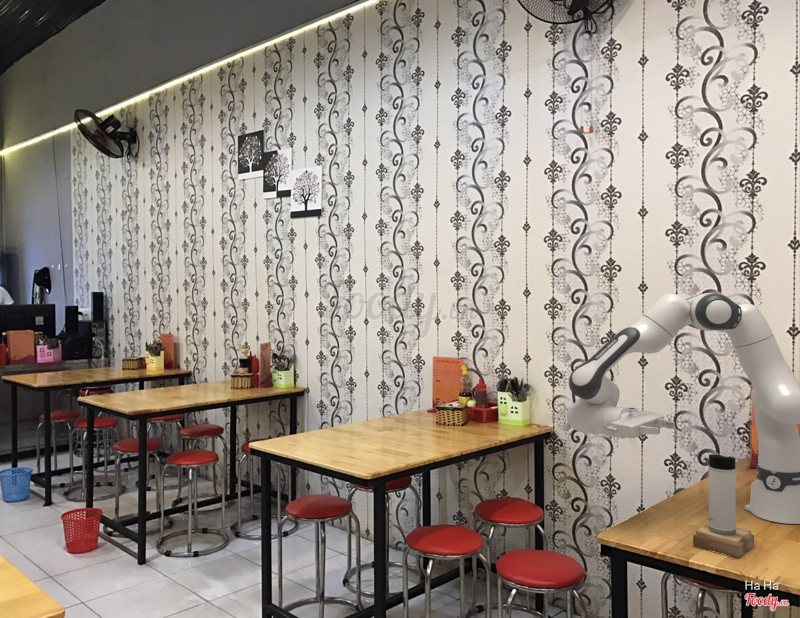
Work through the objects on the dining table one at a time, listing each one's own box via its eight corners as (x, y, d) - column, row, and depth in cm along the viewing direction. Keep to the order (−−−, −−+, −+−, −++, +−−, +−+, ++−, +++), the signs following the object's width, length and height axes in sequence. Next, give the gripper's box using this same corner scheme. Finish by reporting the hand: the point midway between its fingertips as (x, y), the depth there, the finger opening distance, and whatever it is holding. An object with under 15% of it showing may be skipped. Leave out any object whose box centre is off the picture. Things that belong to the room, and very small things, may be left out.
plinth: (709, 535, 176) (709, 520, 176) (753, 546, 168) (753, 530, 168) (693, 546, 168) (693, 531, 168) (738, 558, 160) (738, 542, 160)
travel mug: (705, 531, 168) (704, 454, 167) (713, 524, 172) (713, 450, 172) (731, 537, 163) (730, 458, 163) (739, 530, 168) (738, 453, 168)
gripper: (601, 417, 182) (649, 423, 172) (635, 406, 196) (681, 411, 186) (601, 439, 182) (649, 446, 172) (635, 427, 196) (681, 433, 186)
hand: (666, 428), depth 179 cm, fingers open, 8 cm apart
